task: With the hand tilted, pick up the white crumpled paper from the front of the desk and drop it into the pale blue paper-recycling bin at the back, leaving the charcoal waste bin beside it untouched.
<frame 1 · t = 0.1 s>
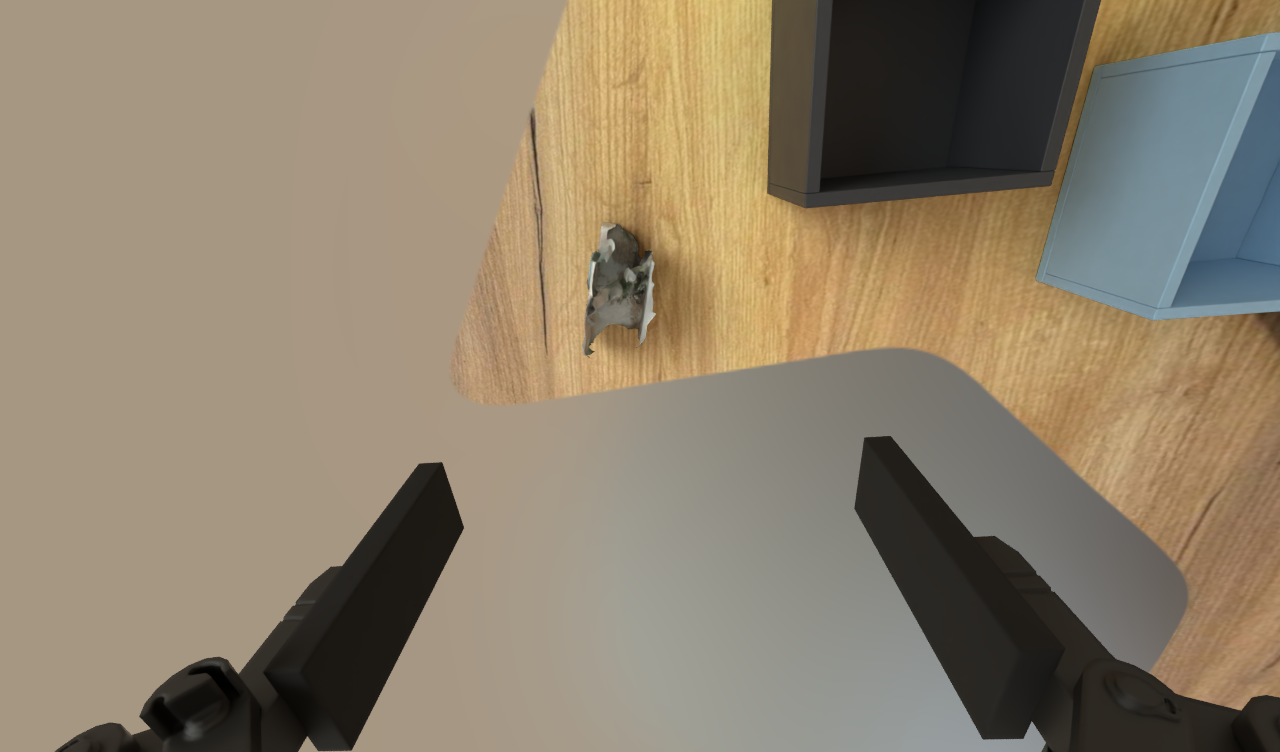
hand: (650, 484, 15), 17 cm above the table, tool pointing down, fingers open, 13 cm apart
waste bin: (867, 81, 25), on the table
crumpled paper: (624, 287, 30), on the table
paper bin: (1167, 173, 26), on the table
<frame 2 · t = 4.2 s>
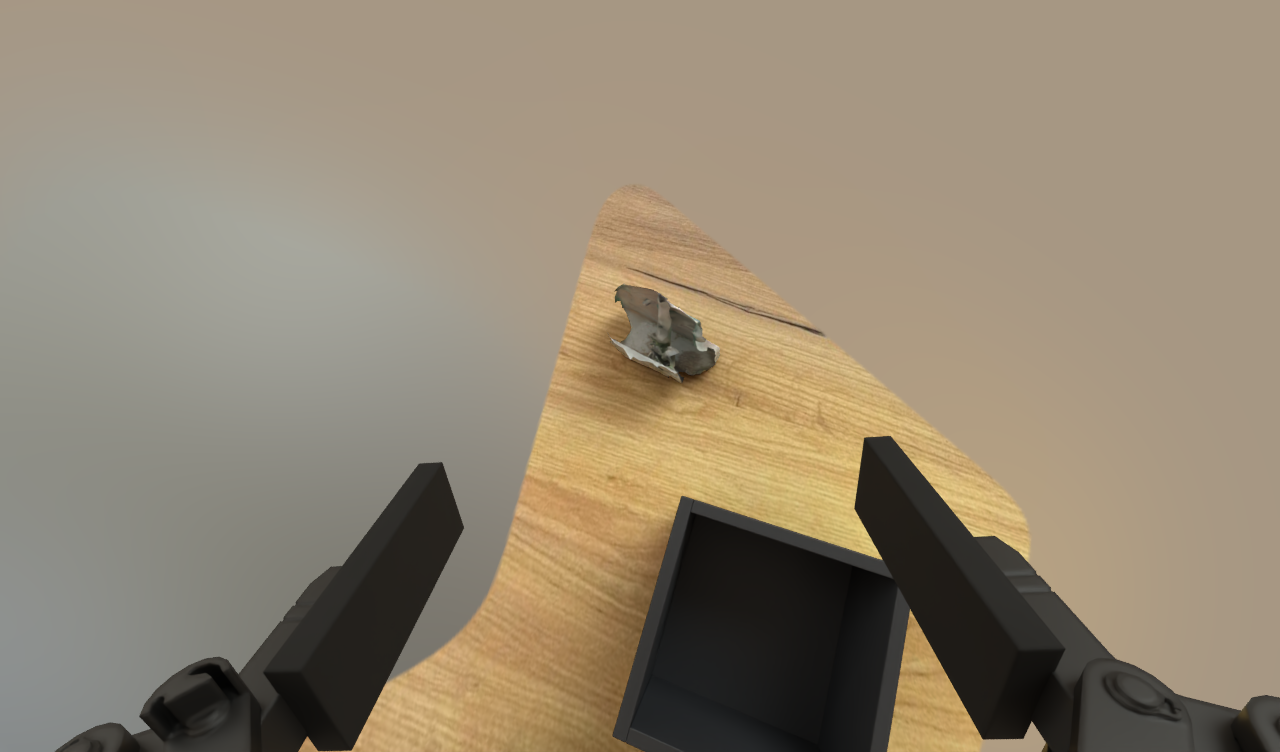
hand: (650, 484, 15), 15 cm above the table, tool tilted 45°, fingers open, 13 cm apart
waste bin: (751, 617, 27), on the table
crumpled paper: (657, 352, 32), on the table
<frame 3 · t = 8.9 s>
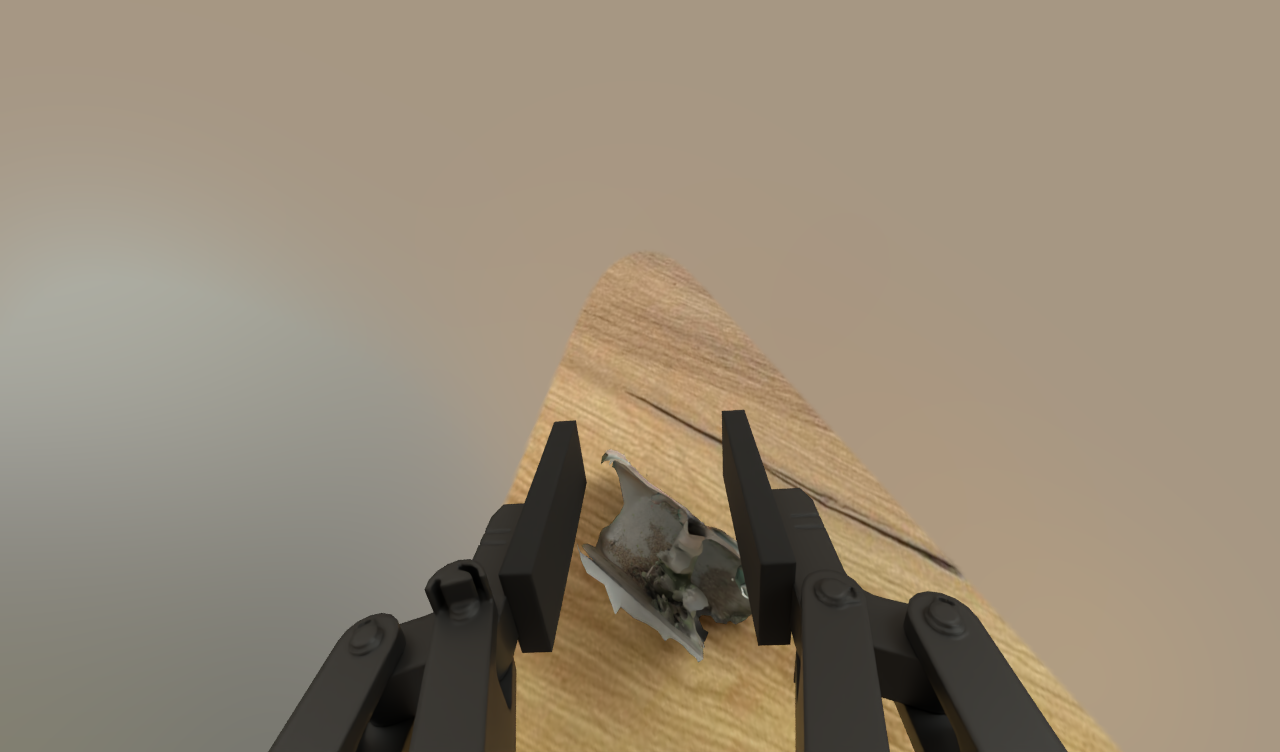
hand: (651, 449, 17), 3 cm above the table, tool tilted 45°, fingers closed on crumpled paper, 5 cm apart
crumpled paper: (663, 557, 19), on the table, touching gripper
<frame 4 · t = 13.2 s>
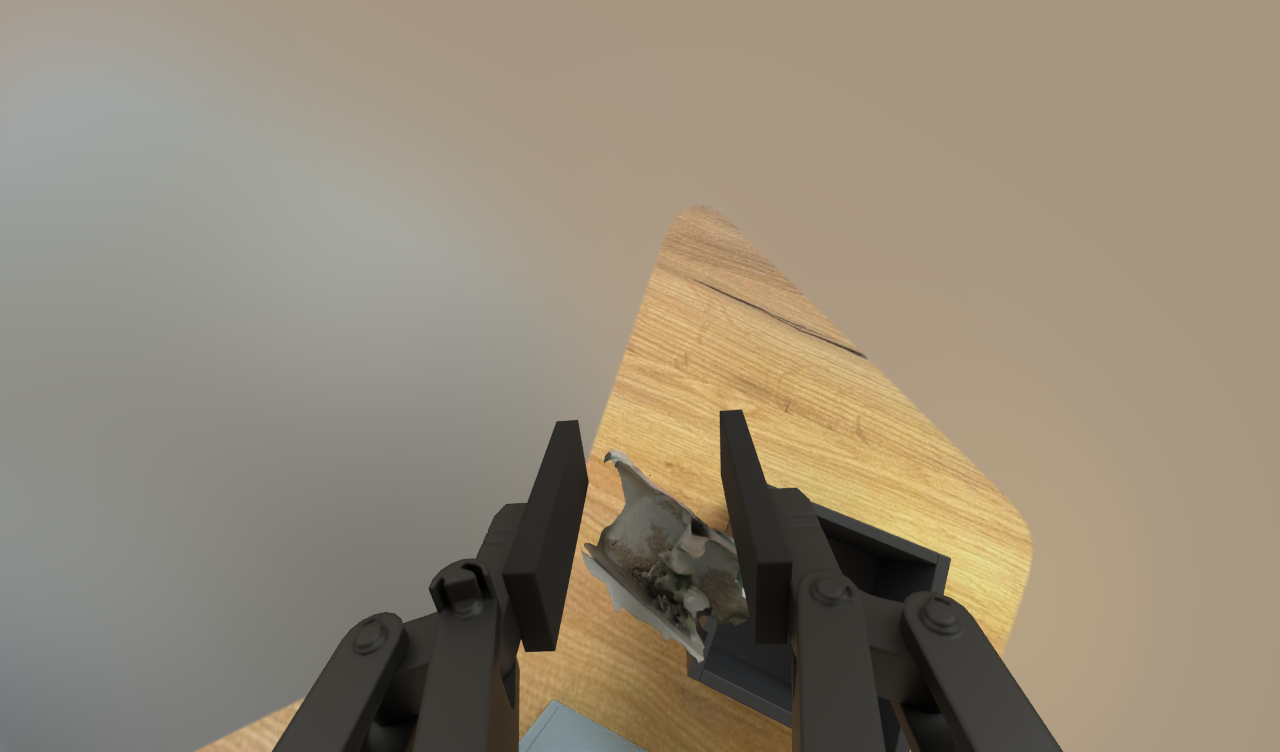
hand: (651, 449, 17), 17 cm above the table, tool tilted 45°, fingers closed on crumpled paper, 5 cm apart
waste bin: (788, 597, 30), on the table
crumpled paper: (664, 557, 19), point 14 cm above the table, touching gripper
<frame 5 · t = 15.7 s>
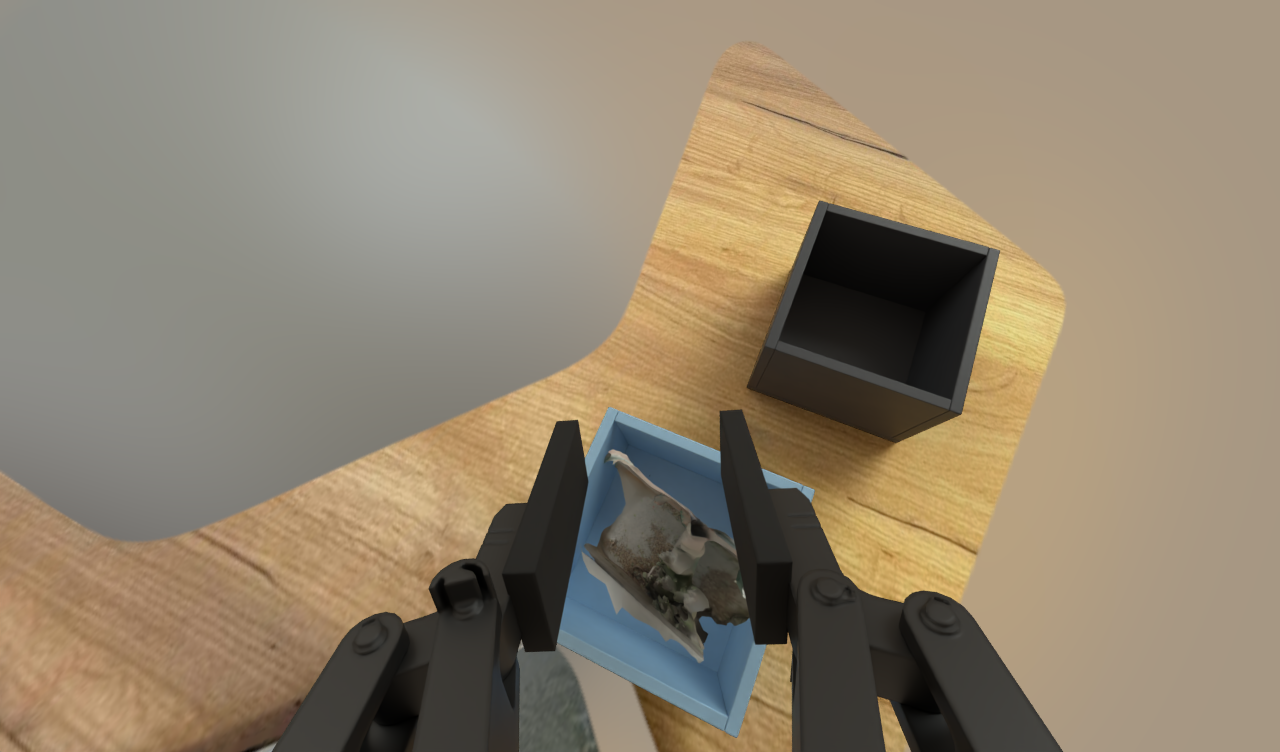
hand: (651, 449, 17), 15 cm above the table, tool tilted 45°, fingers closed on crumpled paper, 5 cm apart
waste bin: (840, 349, 33), on the table
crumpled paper: (664, 557, 19), point 12 cm above the table, touching gripper
paper bin: (669, 549, 30), on the table
when the fingers open (9 cm above the table, at t = 18.2 s): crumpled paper stays where it is, resting on paper bin.
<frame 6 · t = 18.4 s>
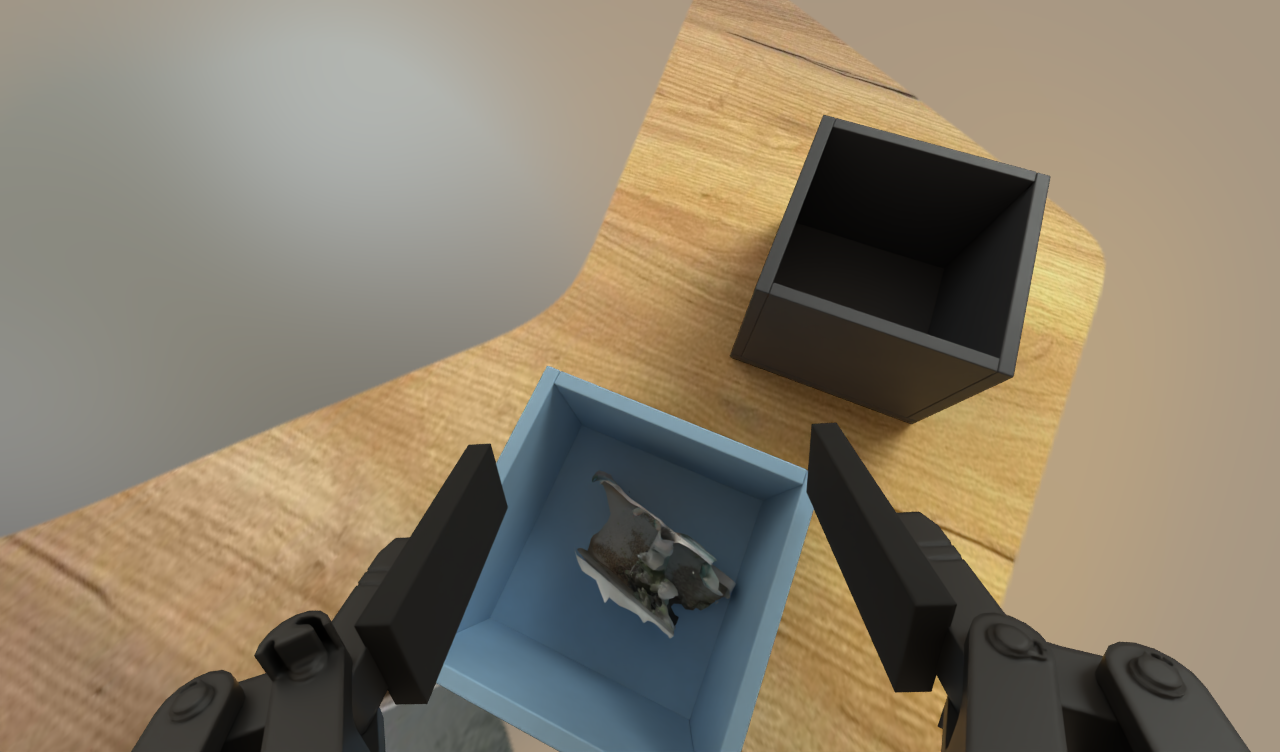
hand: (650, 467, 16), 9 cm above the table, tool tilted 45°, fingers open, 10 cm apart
waste bin: (842, 312, 27), on the table
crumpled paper: (643, 557, 23), resting on paper bin
paper bin: (631, 557, 23), on the table
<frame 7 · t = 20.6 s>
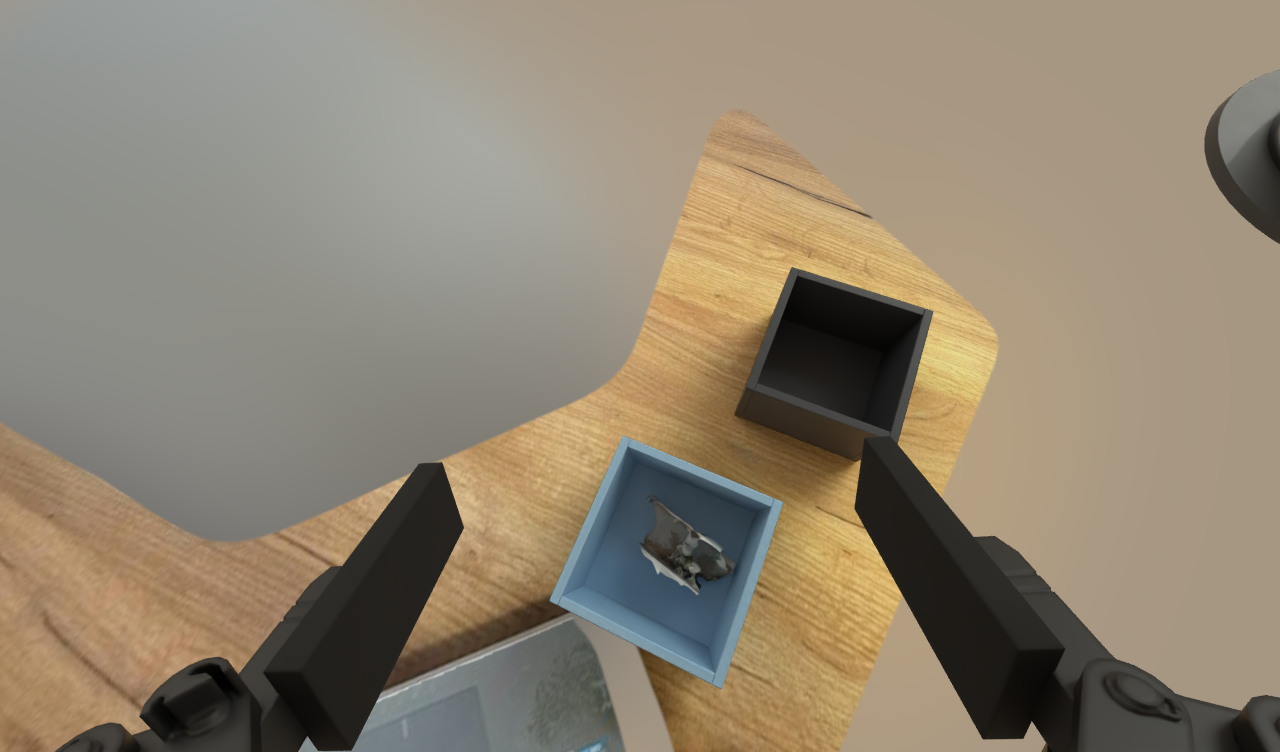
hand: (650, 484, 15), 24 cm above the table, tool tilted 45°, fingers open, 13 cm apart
waste bin: (812, 382, 40), on the table
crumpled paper: (678, 548, 36), resting on paper bin
paper bin: (670, 548, 36), on the table
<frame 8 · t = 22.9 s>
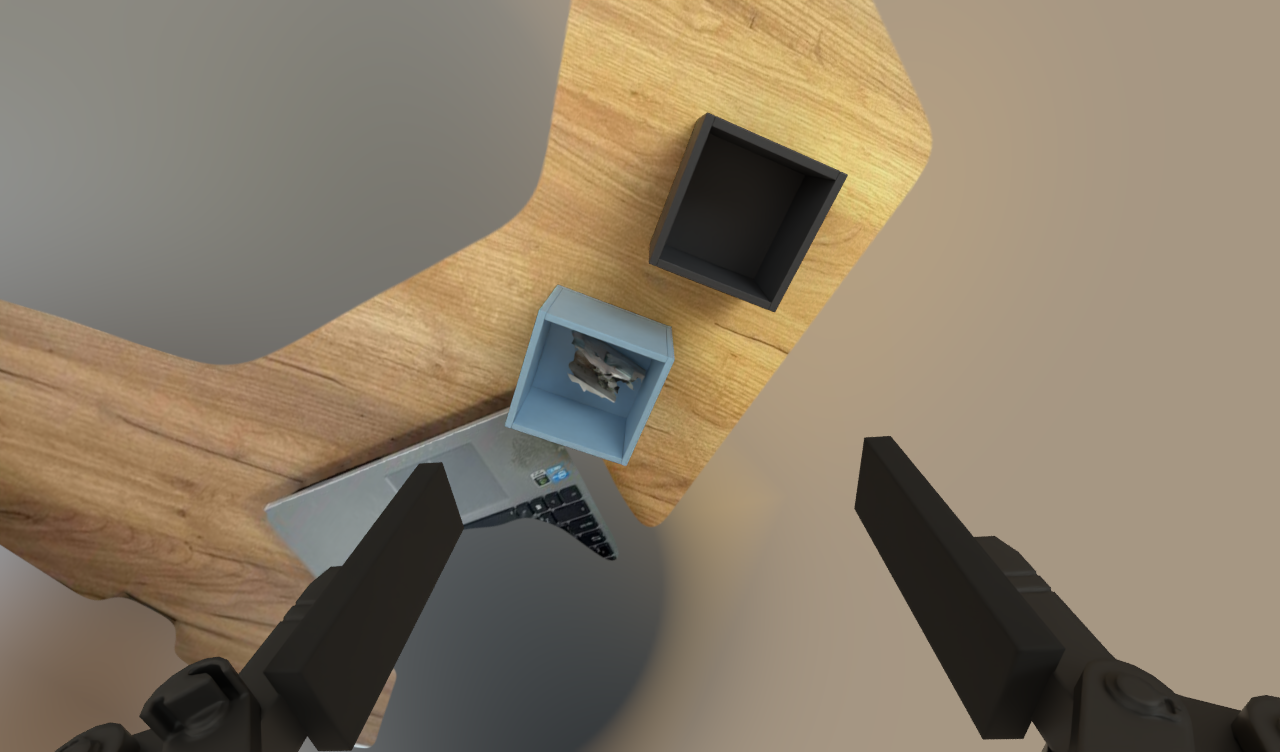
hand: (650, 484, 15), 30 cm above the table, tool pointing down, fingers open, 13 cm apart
waste bin: (728, 208, 39), on the table
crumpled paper: (602, 359, 45), resting on paper bin
paper bin: (596, 357, 45), on the table
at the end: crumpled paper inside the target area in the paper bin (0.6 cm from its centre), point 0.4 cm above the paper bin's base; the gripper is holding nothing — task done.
